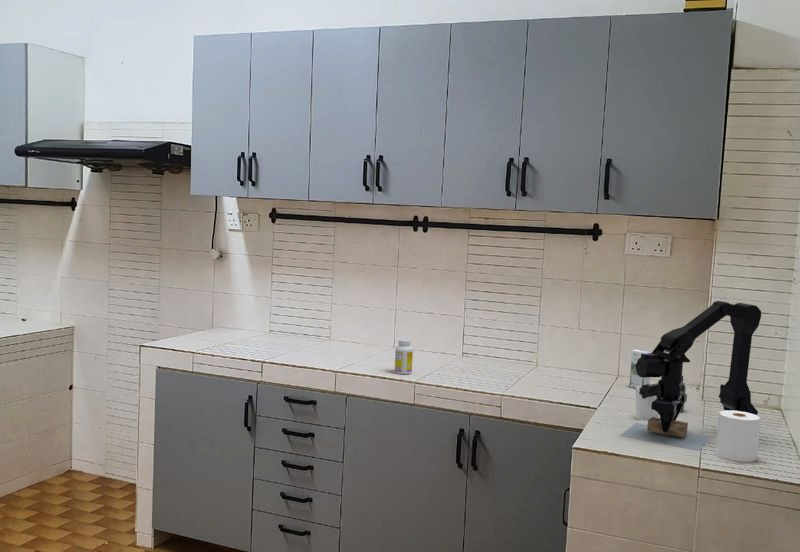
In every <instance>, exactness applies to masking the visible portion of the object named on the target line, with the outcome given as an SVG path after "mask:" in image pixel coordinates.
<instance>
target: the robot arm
mask: <svg viewBox="0 0 800 552" xmlns="http://www.w3.org/2000/svg"><path fill="white" fill-rule="evenodd" d="M727 316H728V317H729V319H730V320H729V321H730V325H731V327H732V330H733V340H732V341H733V342H732V350H731V358H730V359H731V360H730V365H729V366H730V368H729V376H728V379H727V381H726V383H725V384H723V383H722V384H721V383H720V385H719V386H720V387H719V389H720V390H719V394H718V398H720V399H719V400H720V404H721V405H722V407H723V410H735V411H741V412H748V413H751V414H754V415H757V416H758V414H759V411H758V410H757V409H756V406H754V405H753V404H752V395H751V390H750V387H749V386H748V385H749V384H748V375H749V367H750V357H751V348H752V340H753V334H754V333H755V332H756V330H757V329H758V328H759V326H760V322H761V319H762V311H761V309H760V308H759V306H757V305H754V304H750V303H746V302H745V303H744V302H737V303H734V304H732V303H729V302H727V301H722V300H716V301H713V303H712V304H711V305H710V306H709V307H708V308H706V309H705V310H703V311H702V312H701V313H699V314H698V315H697V316H696V317H694V318H692V319H691V320H690V321H689V322H687V323H686V324H685V325H683V326H681V327H678V328H675V329H672V330H670V331H668V332H666V333H664V334H663V335H662V336H661V337H660V341H659V342H658V343H657V345H656V346H655V347H654V349H653V350H652V354H641V358H639V359H638V361H637V363H636V372H637V374H638V376H639V377H650V378H660V379H659V380H658V382H656V383H653V384H652V383H650V385H649V384H646V385H642V387H641V388H639V389H640V392H639V394H641V396H642V399H645V398H647V397H652V396H657V399H656V400H655V401H653V402H652V406H651V409H652V410H655V411H657V412H658V413H659V418H660V419H661V424H662V429H663V432H667V431H668V429H669V427H670V425H671V423H672V421H673V420H676V421H677V418H678V417H679V415H680V413H681V412H680V411H681V409H682V408H683V406H684V407H685V403H687V400H688V399H687V398H688V394H687V393H686V391H685V392H683V391H681V385H682V384H684V379H683V380H682V375H683V369H684V367H683V366H684V363H690V362H691V360H690V359H689V358H688V357H687V355H686V353H687V352H688V351H689V350H690V349H691V347H693V344H694V342H695V340H696V339H697V338H698V337H700V336H701V335H702V334H704V333H705V332H706V331H707V330H709V329H710V328H712V326H714V325H716V324H717V323H718V322H720V321H721V320H722V319H724V318H725V317H727ZM679 400H682V401H683V403H684V404H683V403H679Z"/></svg>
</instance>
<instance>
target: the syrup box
mask: <svg viewBox="0 0 800 552" xmlns="http://www.w3.org/2000/svg"><path fill="white" fill-rule="evenodd" d="M652 352H653V350H647V349H642V348H641V349H640V348H635V349H632V350H631V363H630V373H629V374H630V377H629V388H631V389H635V390H636V387H637V386H642V385H646V384H649V385H651V377H639V376H638V374H637V372H636V363H637V361H638V359H639V358H641V354H652Z"/></svg>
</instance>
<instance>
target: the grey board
mask: <svg viewBox="0 0 800 552" xmlns="http://www.w3.org/2000/svg"><path fill="white" fill-rule="evenodd" d="M647 428H648V424H645V423H639V422H635V423H633V424H632V425H631V426H630V427H628V428H627V429H626V430H624V432H622V433H621V434H620V435H619V436H620V437H624V438H629V439H634V440H640V441H644V442H649V443H650V442H651V443H655V444H660V445H666V446H672V447H676V448H677V447H678V448H682V449H683V448H684V449H686V450H687V449H688V450H691V451H692V450H694V451H699V452H700V451H701V450H702V449H703V447H704V446H705V445H706V444H707V442H708V441H709V440H710V439H711V438H712V436H711V435H707V434H701V433H696V432H695V433H694V432H690V431H689V432H688V431H687V433H686V434H685V435H684V436H683V437H679V436H674V435H668V434H663V433H657V432H651V431H647Z"/></svg>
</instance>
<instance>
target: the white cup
mask: <svg viewBox="0 0 800 552" xmlns="http://www.w3.org/2000/svg"><path fill="white" fill-rule="evenodd" d="M641 387H642V386H637V387H636V389H635V418H636V419H637V420H638V421H647V422H648V420H649V419H651V418H652V417H658V418H660V415H659V413H658V412H657V411H655V410H652V409H651V406H652V402H653V401H655V400H656V399H657V396H652V397H647V398H645V399H642V396H641V394H639V392H640V389H639V388H641Z"/></svg>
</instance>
